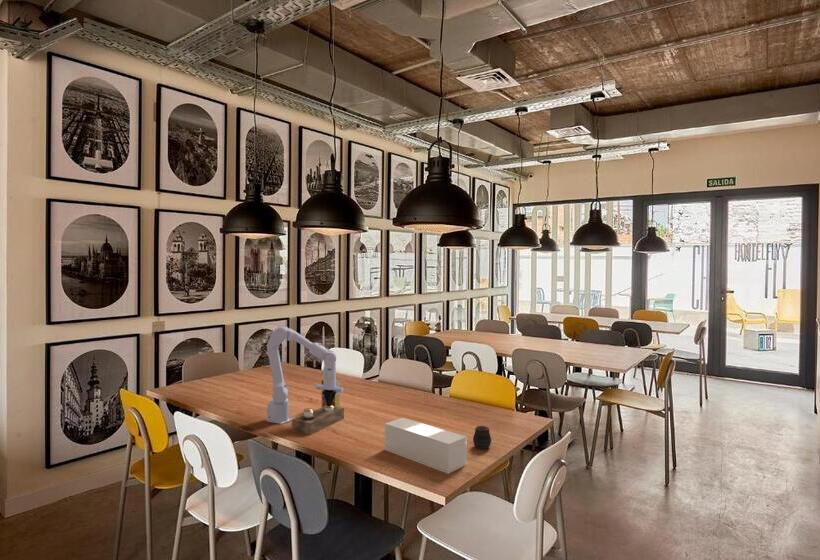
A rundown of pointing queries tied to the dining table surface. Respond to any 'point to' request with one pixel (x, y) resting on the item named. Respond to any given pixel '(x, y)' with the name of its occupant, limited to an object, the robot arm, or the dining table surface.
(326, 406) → the peg
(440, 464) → the white box
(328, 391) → the robot arm
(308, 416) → the peg
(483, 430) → the mate gourd
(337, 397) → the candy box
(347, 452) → the dining table surface
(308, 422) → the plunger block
